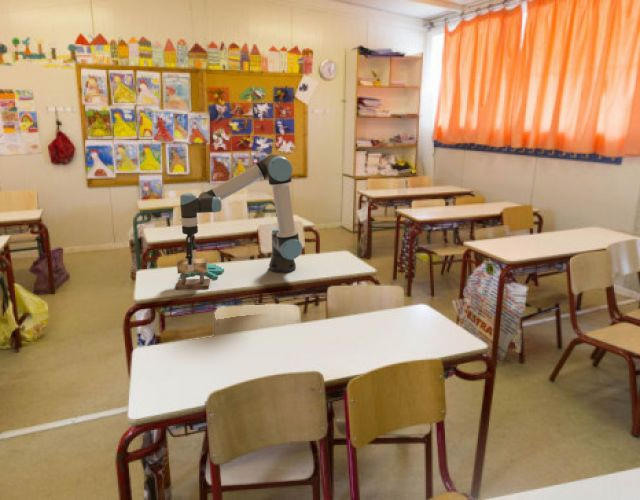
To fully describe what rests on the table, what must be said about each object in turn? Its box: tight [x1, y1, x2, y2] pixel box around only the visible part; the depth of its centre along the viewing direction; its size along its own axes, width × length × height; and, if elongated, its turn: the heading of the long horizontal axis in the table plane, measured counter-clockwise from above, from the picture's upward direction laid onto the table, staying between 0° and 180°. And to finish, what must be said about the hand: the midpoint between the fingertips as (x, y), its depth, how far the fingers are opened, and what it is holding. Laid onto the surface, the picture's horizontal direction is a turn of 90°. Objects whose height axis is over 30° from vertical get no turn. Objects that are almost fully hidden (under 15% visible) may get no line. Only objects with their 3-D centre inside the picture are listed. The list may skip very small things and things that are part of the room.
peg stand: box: [175, 273, 211, 291], centre depth 247 cm, size 16×11×8 cm
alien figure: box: [179, 263, 225, 280], centre depth 267 cm, size 20×2×20 cm
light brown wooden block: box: [176, 257, 208, 275], centre depth 245 cm, size 14×8×5 cm, turn 101°
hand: (192, 266), depth 245 cm, fingers open, 13 cm apart
